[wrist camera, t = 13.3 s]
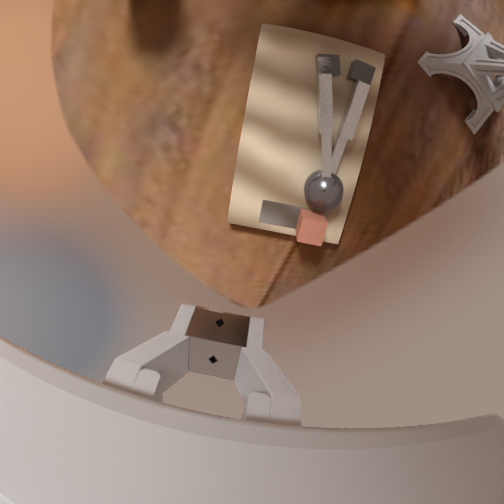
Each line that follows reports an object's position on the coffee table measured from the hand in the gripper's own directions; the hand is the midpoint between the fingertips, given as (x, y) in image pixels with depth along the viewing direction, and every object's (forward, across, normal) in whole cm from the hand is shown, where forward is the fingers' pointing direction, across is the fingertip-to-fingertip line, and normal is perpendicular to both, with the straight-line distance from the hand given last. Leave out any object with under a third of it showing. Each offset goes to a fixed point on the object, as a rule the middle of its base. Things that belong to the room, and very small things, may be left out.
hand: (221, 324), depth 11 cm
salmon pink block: (+27, -7, +5) cm, 29 cm away
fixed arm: (+27, -9, -6) cm, 29 cm away
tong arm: (+27, -6, -6) cm, 29 cm away
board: (+29, -4, -5) cm, 30 cm away
